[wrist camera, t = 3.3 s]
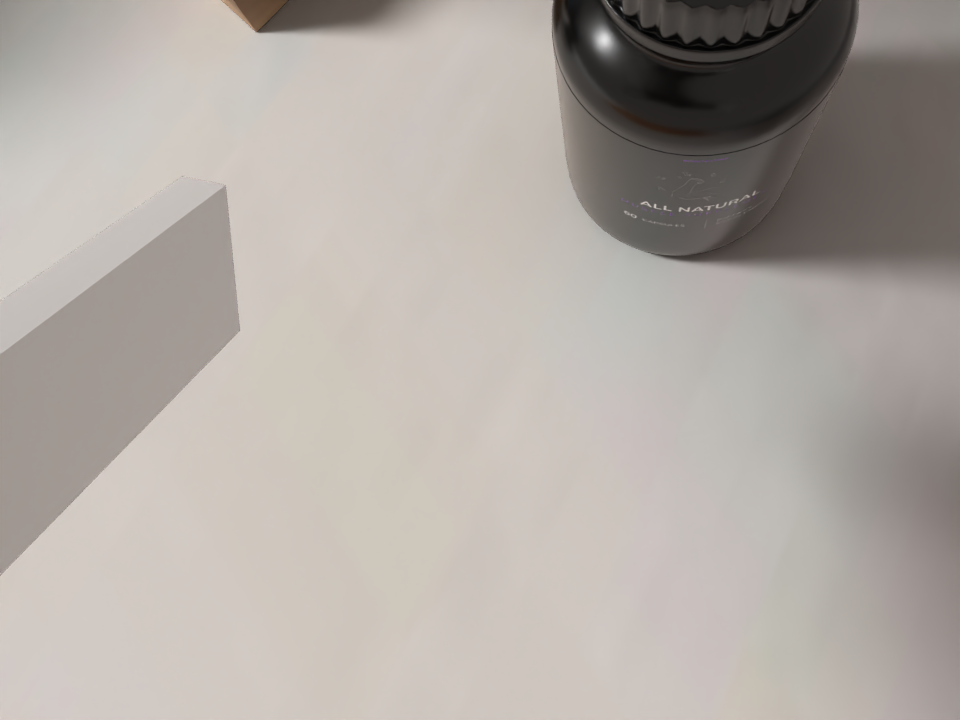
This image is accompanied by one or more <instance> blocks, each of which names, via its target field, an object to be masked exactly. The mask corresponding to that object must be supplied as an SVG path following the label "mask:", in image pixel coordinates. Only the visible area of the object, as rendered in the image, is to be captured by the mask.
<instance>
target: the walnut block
mask: <svg viewBox="0 0 960 720" xmlns="http://www.w3.org/2000/svg"><path fill="white" fill-rule="evenodd" d="M222 1H223V2H224V3H225V4H226V5H227V6H228V7H229V8H230V9H231V10H233V11H234V12H235V13H236V14H237V15H238V16H239V17H240V18H241V19H243V20H244V21H245V22H246V23H247V24H248V25H249V26H250V27H251V28H252V29H254V30H255V31H256V32H257V31H258V30H259V29H260V28H261V27H262V26H263V25H264V24H265V23H266V22H267V21H268V20H269V19H270V18H271V17H272V16H273V15H274V14H275V13H276V12H277V11H278V10H279V9H280V8H281V7H282V6H283V5H284V4H285V3H286V2H287V1H288V0H222Z"/></svg>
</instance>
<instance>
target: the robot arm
mask: <svg viewBox="0 0 960 720" xmlns="http://www.w3.org/2000/svg"><path fill="white" fill-rule="evenodd" d="M239 331H240V324H239V314H238V304H237V294H236V284H235V273H234V263H233V253H232V243H231V233H230V223H229V212H228V202H227V192H226V185H224V184H219V183H214V182H209V181H204V180H200V179H195V178H190V177H185V176H182V177H180V178H179V179H178V180H176V181H175V182H173V183H172V184H170V185H169V186H167V187H166V188H164V189H163V190H161V191H160V192H159V193H157V194H156V195H154V196H153V197H151V198H150V199H148V200H147V201H145V202H144V203H143V204H141V205H140V206H138V207H137V208H135V209H134V210H132V211H131V212H129V213H128V214H126V215H125V216H124V217H122V218H121V219H119V220H118V221H116V222H115V223H113V224H112V225H110V226H109V227H108V228H106V229H105V230H103V231H102V232H100V233H99V234H97V235H96V236H94V237H93V238H91V239H90V240H89V241H87V242H86V243H84V244H83V245H81V246H80V247H78V248H77V249H75V250H74V251H73V252H71V253H70V254H68V255H67V256H65V257H64V258H62V259H61V260H59V261H58V262H57V263H55V264H54V265H52V266H51V267H49V268H48V269H46V270H45V271H43V272H42V273H40V274H39V275H38V276H36V277H35V278H33V279H32V280H30V281H29V282H27V283H26V284H24V285H23V286H22V287H20V288H19V289H17V290H16V291H14V292H13V293H11V294H10V295H8V296H7V297H5V298H4V299H3V300H1V301H0V575H1V574H2V573H3V572H4V571H5V570H6V569H7V568H8V567H9V566H10V565H11V564H12V563H13V562H14V561H15V560H16V559H17V558H18V557H19V556H20V555H21V554H22V553H23V552H24V551H25V550H26V549H27V548H28V547H29V546H30V545H31V544H32V543H33V542H34V541H35V540H36V539H37V538H38V536H39V535H40V534H41V533H42V532H43V531H44V530H45V529H46V528H47V527H48V526H49V525H50V524H51V523H52V522H53V521H54V520H55V519H56V518H57V517H58V516H59V515H60V514H61V513H62V512H63V511H64V510H65V509H66V508H67V507H68V506H69V505H70V504H71V503H72V502H73V501H74V500H75V499H76V498H77V497H78V496H79V495H80V494H81V493H82V492H83V490H84V489H85V488H86V487H87V486H88V485H89V484H90V483H91V482H92V481H93V480H94V479H95V478H96V477H97V476H98V475H99V474H100V473H101V472H102V471H103V470H104V469H105V468H106V467H107V466H108V465H109V464H110V463H111V462H112V461H113V460H114V459H115V458H116V457H117V456H118V455H119V454H120V453H121V452H122V451H123V450H124V449H125V448H126V447H127V446H128V444H129V443H130V442H131V441H132V440H133V439H134V438H135V437H136V436H137V435H138V434H139V433H140V432H141V431H142V430H143V429H144V428H145V427H146V426H147V425H148V424H149V423H150V422H151V421H152V420H153V419H154V418H155V417H156V416H157V415H158V414H159V413H160V412H161V411H162V410H163V409H164V408H165V407H166V406H167V405H168V404H169V403H170V402H171V401H172V400H173V398H174V397H175V396H176V395H177V394H178V393H179V392H180V391H181V390H182V389H183V388H184V387H185V386H186V385H187V384H188V383H189V382H190V381H191V380H192V379H193V378H194V377H195V376H196V375H197V374H198V373H199V372H200V371H201V370H202V369H203V368H204V367H205V366H206V365H207V364H208V363H209V362H210V361H211V360H212V359H213V358H214V357H215V356H216V355H217V354H218V352H219V351H220V350H221V349H222V348H223V347H224V346H225V345H226V344H227V343H228V342H229V341H230V340H231V339H232V338H233V337H234V336H235V335H236V334H237V333H238V332H239Z"/></svg>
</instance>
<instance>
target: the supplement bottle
mask: <svg viewBox="0 0 960 720" xmlns="http://www.w3.org/2000/svg"><path fill="white" fill-rule="evenodd" d="M858 13H859V0H553V6H552V38H553V47H554V57H555V65H556V74H557V83H558V92H559V100H560V109H561V118H562V126H563V135H564V144H565V153H566V159H567V165H568V170H569V175H570V179H571V182H572V185H573V188H574V190H575V193H576V195H577V197H578V199H579V201H580V203H581V204H582V206H583V208H584V209H585V210H586V212H587V213H588V215H589V216H590V217H591V218H592V219H593V220H594V221H595V222H596V223H597V224H598V225H599V226H600V227H601V228H602V229H603V230H604V231H606V232H607V233H608V234H610V235H611V236H612V237H614V238H616V239H617V240H619V241H621V242H623V243H625V244H627V245H629V246H631V247H634V248H636V249H639V250H642V251H646V252H650V253H654V254H660V255H671V256H682V255H693V254H699V253H704V252H708V251H711V250H714V249H718V248H720V247H723V246H725V245H727V244H729V243H731V242H733V241H735V240H737V239H739V238H740V237H742V236H743V235H745V234H746V233H748V232H749V231H750V230H752V229H753V228H754V227H755V226H756V225H757V224H758V223H759V222H760V221H761V220H762V219H764V217H765V216H766V215H767V214H768V213H769V211H770V210H771V209H772V208H773V206H774V205H775V203H776V202H777V200H778V199H779V197H780V195H781V193H782V191H783V189H784V188H785V186H786V184H787V182H788V180H789V178H790V176H791V174H792V172H793V170H794V168H795V166H796V164H797V162H798V160H799V158H800V156H801V154H802V152H803V150H804V148H805V146H806V144H807V142H808V140H809V138H810V136H811V134H812V132H813V130H814V128H815V126H816V124H817V122H818V120H819V118H820V115H821V113H822V111H823V109H824V107H825V105H826V103H827V101H828V99H829V97H830V95H831V93H832V91H833V89H834V87H835V85H836V83H837V81H838V79H839V77H840V75H841V73H842V71H843V68H844V66H845V63H846V61H847V58H848V56H849V53H850V50H851V48H852V44H853V41H854V37H855V34H856V29H857V23H858Z"/></svg>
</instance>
